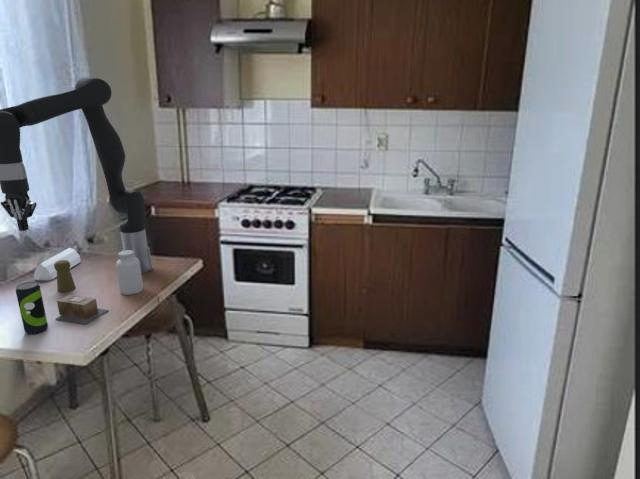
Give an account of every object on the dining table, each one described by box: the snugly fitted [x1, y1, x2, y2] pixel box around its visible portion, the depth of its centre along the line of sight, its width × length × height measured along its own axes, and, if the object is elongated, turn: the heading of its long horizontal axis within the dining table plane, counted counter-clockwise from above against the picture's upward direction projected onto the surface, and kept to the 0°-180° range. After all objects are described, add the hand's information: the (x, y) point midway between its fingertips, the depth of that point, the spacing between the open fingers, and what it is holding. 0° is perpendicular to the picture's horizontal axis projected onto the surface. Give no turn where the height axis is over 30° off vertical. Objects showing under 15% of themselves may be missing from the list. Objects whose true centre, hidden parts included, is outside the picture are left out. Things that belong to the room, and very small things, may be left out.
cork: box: [54, 260, 76, 293], centre depth 174 cm, size 6×6×11 cm
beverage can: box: [15, 280, 49, 335], centre depth 143 cm, size 6×6×15 cm
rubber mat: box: [55, 308, 109, 326], centre depth 154 cm, size 12×10×1 cm
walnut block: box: [56, 294, 99, 319], centre depth 154 cm, size 5×5×11 cm
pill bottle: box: [115, 250, 144, 296], centre depth 171 cm, size 8×8×15 cm
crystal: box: [33, 247, 82, 282], centre depth 194 cm, size 7×7×24 cm
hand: (24, 230), depth 154 cm, fingers closed
